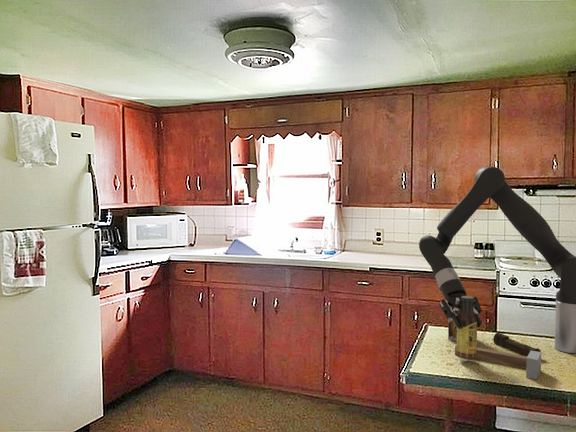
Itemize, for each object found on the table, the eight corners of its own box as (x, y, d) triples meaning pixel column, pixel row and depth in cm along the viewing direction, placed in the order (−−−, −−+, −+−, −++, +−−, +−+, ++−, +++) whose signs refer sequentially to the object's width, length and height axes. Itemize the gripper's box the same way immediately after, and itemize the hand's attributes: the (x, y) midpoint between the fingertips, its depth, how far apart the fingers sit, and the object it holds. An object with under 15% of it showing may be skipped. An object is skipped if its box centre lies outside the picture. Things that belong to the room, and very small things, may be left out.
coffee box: (474, 338, 185) (475, 296, 184) (473, 343, 179) (474, 300, 178) (449, 335, 188) (449, 294, 187) (447, 340, 183) (448, 297, 182)
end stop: (530, 368, 153) (530, 350, 153) (540, 370, 152) (541, 352, 151) (526, 377, 147) (526, 357, 146) (537, 379, 145) (537, 359, 145)
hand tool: (541, 359, 162) (542, 346, 162) (532, 361, 161) (532, 347, 161) (499, 342, 180) (499, 330, 180) (490, 344, 179) (491, 331, 178)
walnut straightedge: (457, 352, 169) (457, 344, 169) (529, 366, 156) (530, 357, 156) (454, 354, 167) (455, 346, 167) (528, 368, 154) (528, 359, 154)
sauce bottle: (472, 361, 156) (472, 300, 155) (453, 356, 160) (453, 297, 159) (479, 355, 161) (480, 296, 160) (461, 351, 165) (461, 293, 164)
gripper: (436, 279, 164) (456, 323, 154) (472, 276, 168) (495, 319, 158) (427, 291, 170) (446, 334, 159) (463, 288, 174) (484, 330, 163)
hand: (470, 326), depth 158 cm, fingers closed on sauce bottle, 6 cm apart
